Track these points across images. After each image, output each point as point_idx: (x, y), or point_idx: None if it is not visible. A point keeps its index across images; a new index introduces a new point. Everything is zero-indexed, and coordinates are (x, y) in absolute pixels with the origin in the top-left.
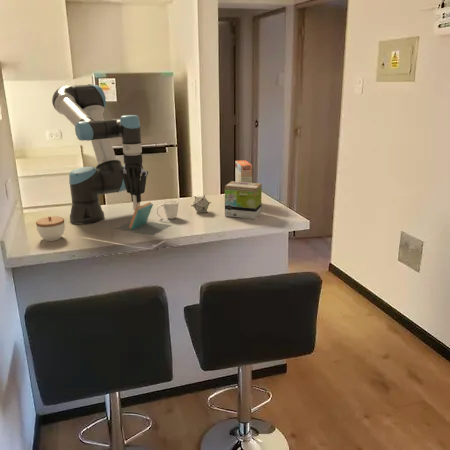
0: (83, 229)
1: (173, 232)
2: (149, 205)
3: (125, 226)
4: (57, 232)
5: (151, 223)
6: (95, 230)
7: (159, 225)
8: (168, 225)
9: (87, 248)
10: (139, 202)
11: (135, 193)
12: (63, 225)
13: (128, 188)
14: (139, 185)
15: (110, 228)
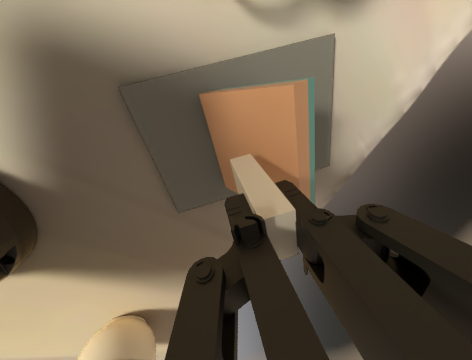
0: (98, 267)
1: (365, 92)
2: (312, 122)
3: (187, 176)
4: (155, 345)
5: (240, 77)
6: (137, 247)
7: (289, 75)
8: (323, 47)
9: None
10: (265, 175)
11: (307, 266)
12: (142, 351)
13: (235, 346)
14: (420, 321)
15: (152, 210)
